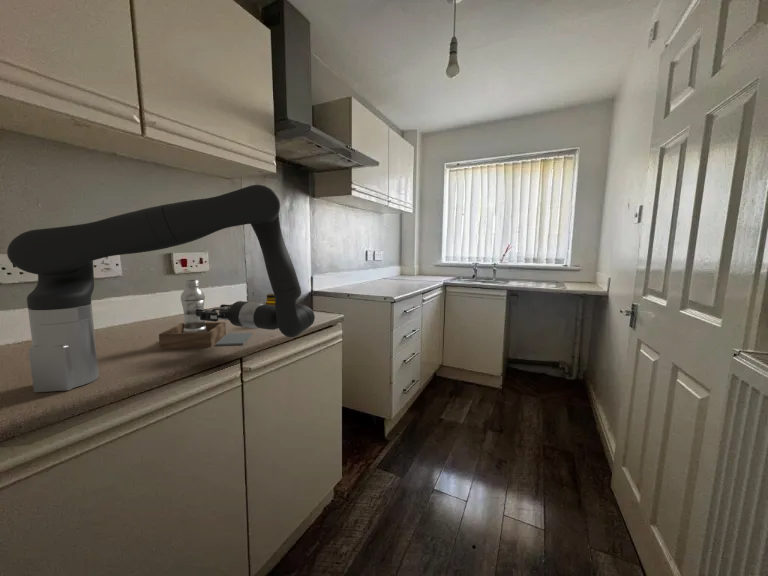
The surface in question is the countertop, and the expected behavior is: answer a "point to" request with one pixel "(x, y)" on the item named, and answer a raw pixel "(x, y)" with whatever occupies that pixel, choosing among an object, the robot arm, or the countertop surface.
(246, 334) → the grey mat
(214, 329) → the walnut frame
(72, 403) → the countertop surface
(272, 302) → the condiment
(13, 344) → the countertop surface
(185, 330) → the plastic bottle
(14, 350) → the countertop surface
